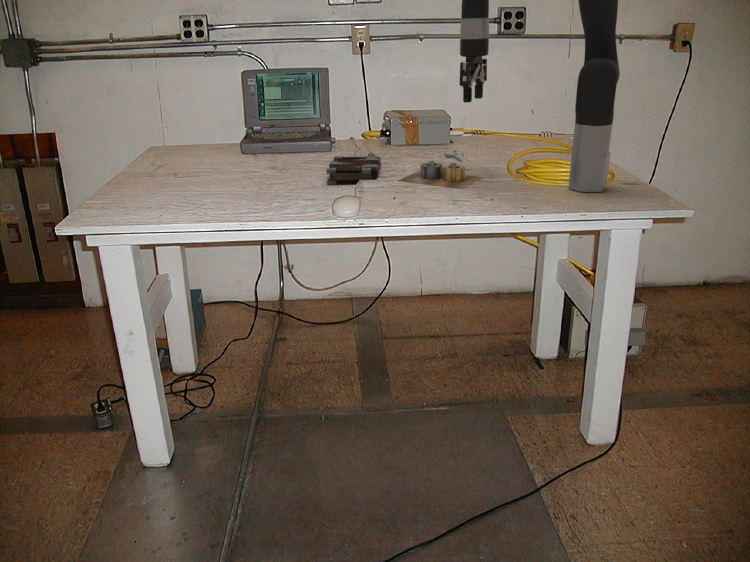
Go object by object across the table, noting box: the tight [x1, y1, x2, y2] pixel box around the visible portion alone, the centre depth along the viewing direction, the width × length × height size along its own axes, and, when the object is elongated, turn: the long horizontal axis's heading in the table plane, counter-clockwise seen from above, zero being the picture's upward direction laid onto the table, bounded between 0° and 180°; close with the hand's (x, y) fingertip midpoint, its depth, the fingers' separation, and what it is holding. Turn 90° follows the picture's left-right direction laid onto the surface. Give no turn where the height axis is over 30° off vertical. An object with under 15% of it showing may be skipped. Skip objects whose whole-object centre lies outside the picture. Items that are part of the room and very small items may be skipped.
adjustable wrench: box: [444, 149, 473, 163], centre depth 199 cm, size 25×6×2 cm, turn 6°
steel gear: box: [419, 162, 444, 180], centre depth 175 cm, size 6×6×4 cm
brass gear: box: [443, 164, 466, 182], centre depth 172 cm, size 6×6×4 cm
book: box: [326, 151, 382, 186], centre depth 186 cm, size 15×25×5 cm, turn 176°
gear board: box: [397, 160, 484, 190], centre depth 173 cm, size 20×14×6 cm
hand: (473, 100), depth 170 cm, fingers open, 8 cm apart
